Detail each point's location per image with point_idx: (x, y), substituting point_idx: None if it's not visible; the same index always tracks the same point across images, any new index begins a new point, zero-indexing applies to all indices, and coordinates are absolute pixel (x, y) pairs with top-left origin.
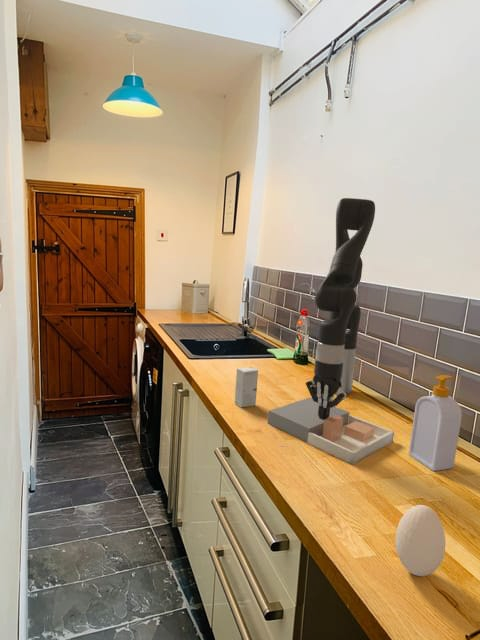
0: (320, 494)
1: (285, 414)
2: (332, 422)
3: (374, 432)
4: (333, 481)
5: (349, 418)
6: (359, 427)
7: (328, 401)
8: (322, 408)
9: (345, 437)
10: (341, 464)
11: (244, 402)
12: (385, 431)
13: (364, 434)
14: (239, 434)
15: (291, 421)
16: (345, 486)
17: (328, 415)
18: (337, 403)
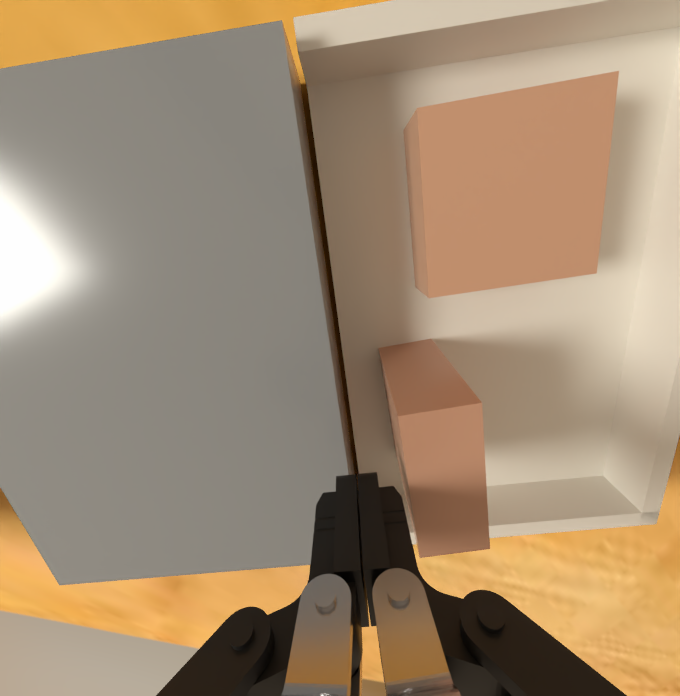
0: (610, 658)
1: (139, 548)
2: (484, 540)
3: (556, 42)
4: (607, 599)
5: (306, 63)
6: (514, 207)
7: (397, 647)
8: (374, 612)
9: (445, 313)
10: None
11: None
12: None
13: (591, 266)
14: (178, 641)
15: (233, 566)
16: (653, 591)
17: (401, 511)
18: (547, 658)
